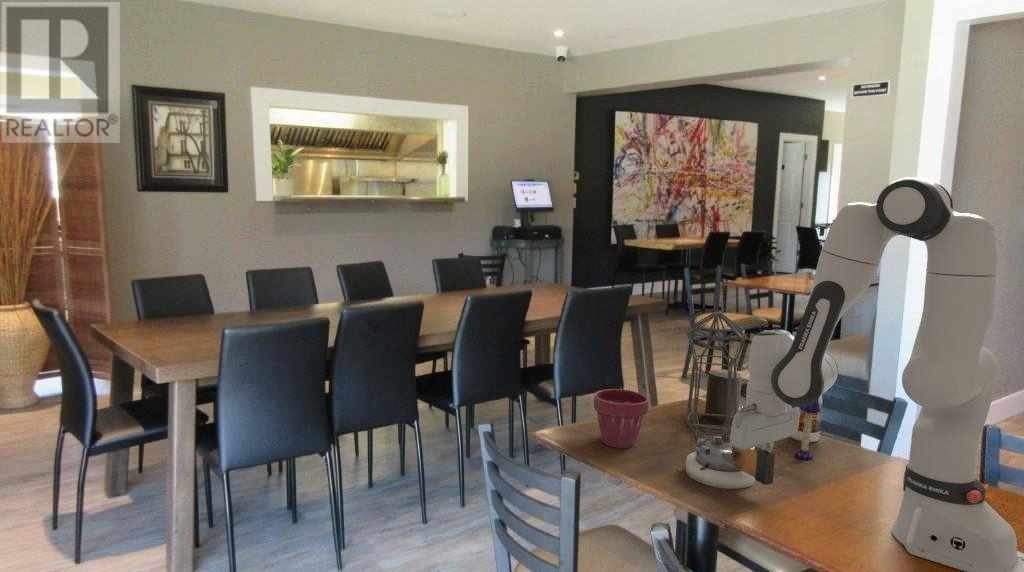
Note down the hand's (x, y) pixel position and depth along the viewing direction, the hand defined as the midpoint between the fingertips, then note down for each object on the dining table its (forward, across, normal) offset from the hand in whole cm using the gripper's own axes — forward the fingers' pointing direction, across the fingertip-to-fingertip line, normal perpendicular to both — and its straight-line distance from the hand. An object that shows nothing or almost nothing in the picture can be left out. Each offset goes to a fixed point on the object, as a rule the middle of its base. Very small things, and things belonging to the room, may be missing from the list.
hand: (762, 460), depth 157 cm
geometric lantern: (+7, +19, +30) cm, 36 cm away
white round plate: (+7, -1, +11) cm, 13 cm away
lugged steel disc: (+4, -2, +6) cm, 7 cm away
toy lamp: (+7, +28, +7) cm, 29 cm away
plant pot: (+7, -7, +39) cm, 40 cm away
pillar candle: (+7, +35, +39) cm, 53 cm away
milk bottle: (+7, +41, +16) cm, 44 cm away
